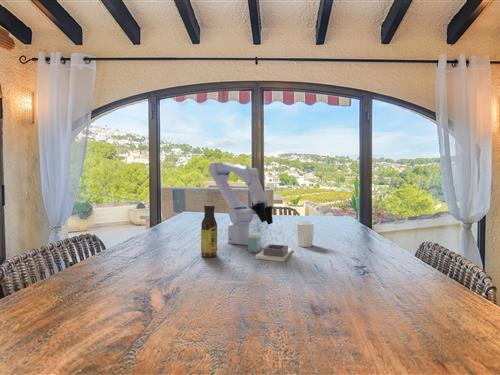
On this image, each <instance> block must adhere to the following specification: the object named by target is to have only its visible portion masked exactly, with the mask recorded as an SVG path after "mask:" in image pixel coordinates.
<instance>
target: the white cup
mask: <svg viewBox="0 0 500 375" xmlns="http://www.w3.org/2000/svg"><path fill="white" fill-rule="evenodd" d="M295 227H296V228H295V230H296V231H295V232H296V245H297V247H302V248H310V247H312V246H313V240H314V229H315V228H314V227H315V223H314V222H310V221H297V222H296V223H295Z"/></svg>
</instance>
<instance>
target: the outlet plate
mask: <svg viewBox="0 0 500 375" xmlns="http://www.w3.org/2000/svg"><path fill="white" fill-rule="evenodd" d="M293 251H294V250H293V248H292V247H289V245H284V244H274V243H272V244H271V243H268V244H267V245H266V246H265V247H264V248H263V249H261V250H260V251H258V252H257V253H256V254H255V255H254V259H257V260H267V261H275V262H285V261H286V259H287V258H288V257H289V255H290V254H291V253H292V252H293Z"/></svg>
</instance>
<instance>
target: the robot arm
mask: <svg viewBox="0 0 500 375" xmlns="http://www.w3.org/2000/svg"><path fill="white" fill-rule="evenodd" d="M208 167H209V168H208V169H209V171H208V172H209V175H210V177H211V178H212V179H213V181H214V182H215V185H216V187H217V189H218V190H219V191H220V194H221V195H222V197H223V198H224V200H225V201H226V203H227V205H228V206H229V210H228V212H227V214H228V215H229V219H230V221H231V222H230V223H229V224H228V228H227V244H231V245H233V244H234V245H243V246H248V234H250V224H252V221H253V219H254V212H255V214H256V215H257V217H258V219H259V220H260V222H261V223H264V222H266V223H267V225H268V226H269V225H271V224H273V222H274V221H273V206H272V205H270V206H269V202H270V201H271V200H270V198H266V194H265V191H264V188H263V186H262V183H261V180H260V178H261V177H260V176H261V172H260V170H259V168H257V167H251V166H250V165H245V164H244V163H238V164H234V163H231V162H228V161H227V162H225V161H221V162H219V161H211V162H210V163H209V166H208ZM231 173H233V175H235V177H238V178H241V180H242V181H243V182H244V184H245V185H246V186H247V188H248V192H249V194H250V198H251V201H252V204H253V205H252V206H251V208H250V207H249V206H248V205H246V204H245V203H243V202H241V200H240V199H239V198H238V196H237V195H236V193H235V191H234V190H233V189H232V187H231V186H230V184H229V182H228V181H229V180H230V176H231Z"/></svg>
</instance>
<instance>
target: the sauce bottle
mask: <svg viewBox="0 0 500 375" xmlns="http://www.w3.org/2000/svg"><path fill="white" fill-rule="evenodd" d="M203 207H204V208H203V209H204V214H203V215H204V217H203V219H202V221H201V224H200V225H201V228H200V252H201V257H203V258H214V257H216V256H217V252H218V223H217V220H216V217H215V208H216V207H215V205H214V204H204V205H203Z"/></svg>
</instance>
